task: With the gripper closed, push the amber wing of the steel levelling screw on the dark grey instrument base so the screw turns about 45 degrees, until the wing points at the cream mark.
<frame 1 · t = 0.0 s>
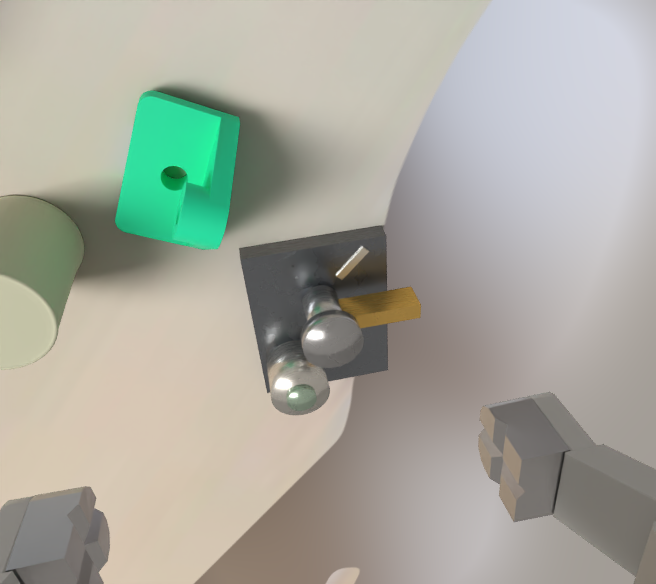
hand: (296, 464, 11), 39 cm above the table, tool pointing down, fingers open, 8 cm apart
instrument base: (318, 309, 59), on the table
camera mount: (175, 165, 47), on the table
can: (28, 241, 49), on the table
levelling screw: (358, 315, 53), point 6 cm above the table, hinge at 0.0°
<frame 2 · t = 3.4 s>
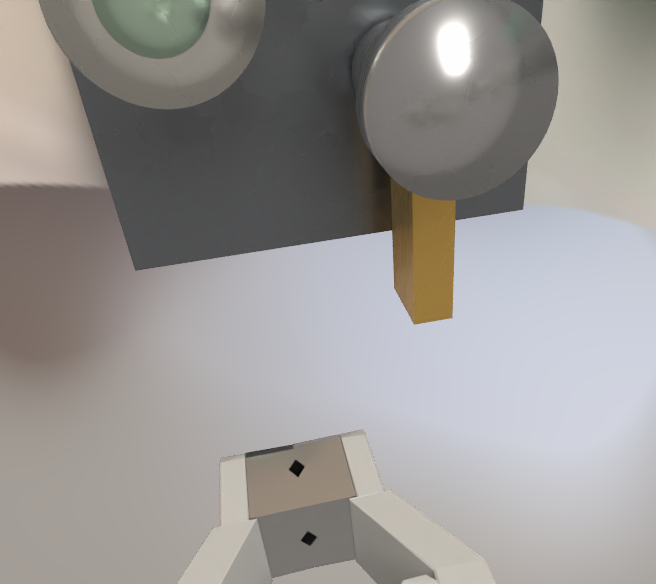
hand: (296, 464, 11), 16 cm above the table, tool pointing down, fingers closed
instrument base: (313, 69, 23), on the table
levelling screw: (425, 173, 20), point 6 cm above the table, hinge at 0.0°
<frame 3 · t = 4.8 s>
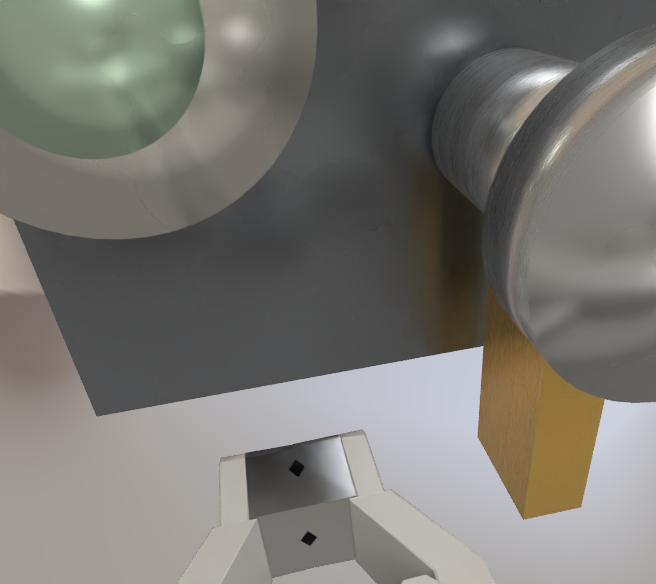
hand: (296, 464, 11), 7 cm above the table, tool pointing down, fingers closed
instrument base: (362, 121, 15), on the table
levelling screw: (560, 304, 12), point 6 cm above the table, hinge at 0.0°
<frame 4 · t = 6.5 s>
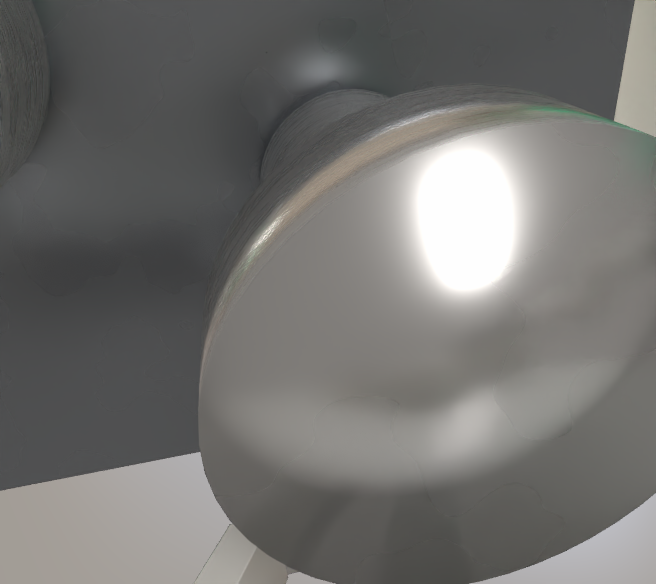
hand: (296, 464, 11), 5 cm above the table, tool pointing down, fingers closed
instrument base: (204, 167, 13), on the table
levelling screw: (400, 407, 10), point 6 cm above the table, hinge at 0.4°, touching gripper
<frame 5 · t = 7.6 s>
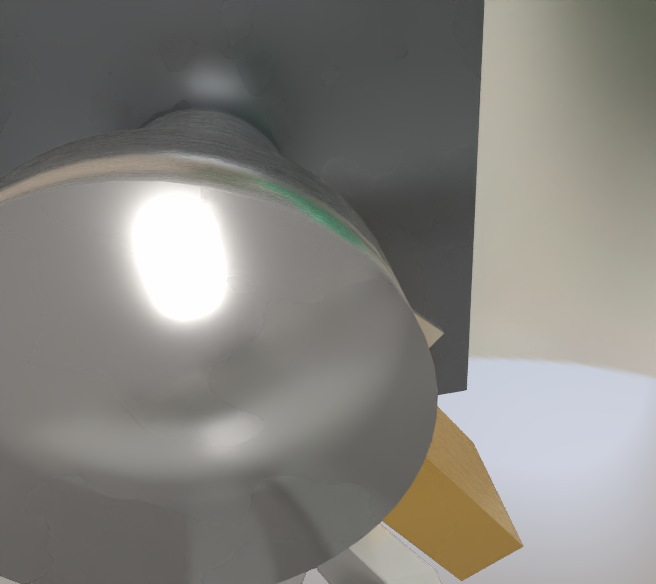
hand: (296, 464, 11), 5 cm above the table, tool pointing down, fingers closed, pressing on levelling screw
instrument base: (87, 179, 13), on the table
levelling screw: (318, 386, 10), point 6 cm above the table, hinge at 32.7°, touching gripper
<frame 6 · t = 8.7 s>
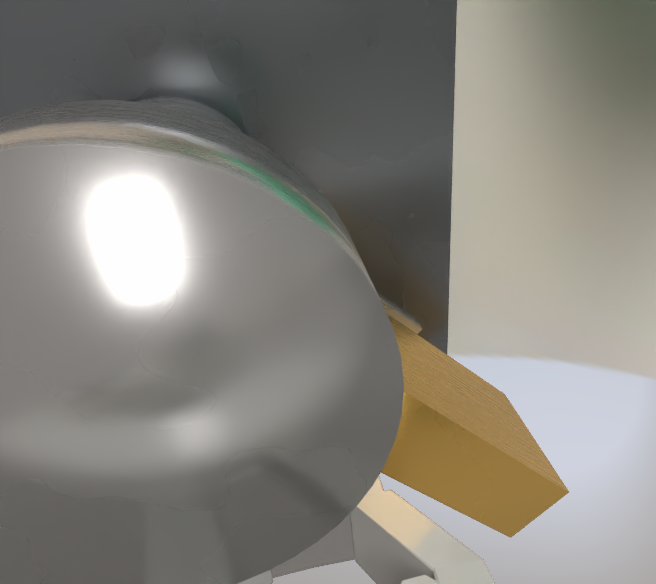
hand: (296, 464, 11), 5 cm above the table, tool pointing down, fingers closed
instrument base: (55, 173, 13), on the table
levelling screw: (315, 358, 10), point 6 cm above the table, hinge at 44.2°
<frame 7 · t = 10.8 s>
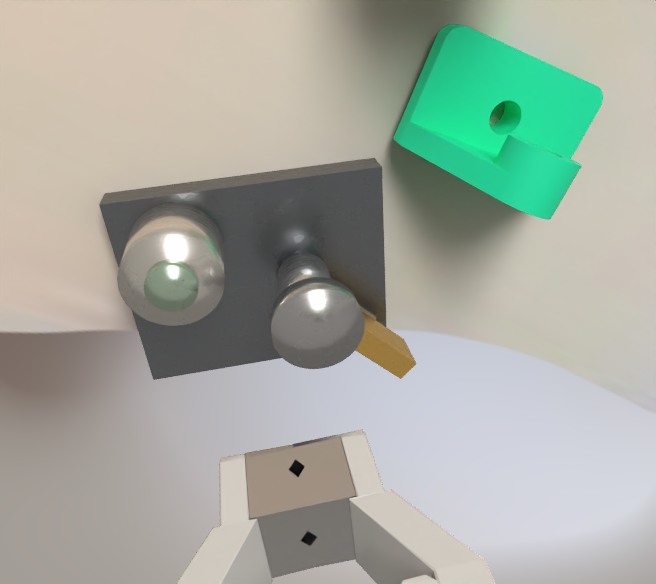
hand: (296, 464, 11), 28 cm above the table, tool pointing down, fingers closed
instrument base: (258, 267, 40), on the table
camera mount: (487, 108, 38), on the table
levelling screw: (344, 323, 37), point 6 cm above the table, hinge at 44.4°
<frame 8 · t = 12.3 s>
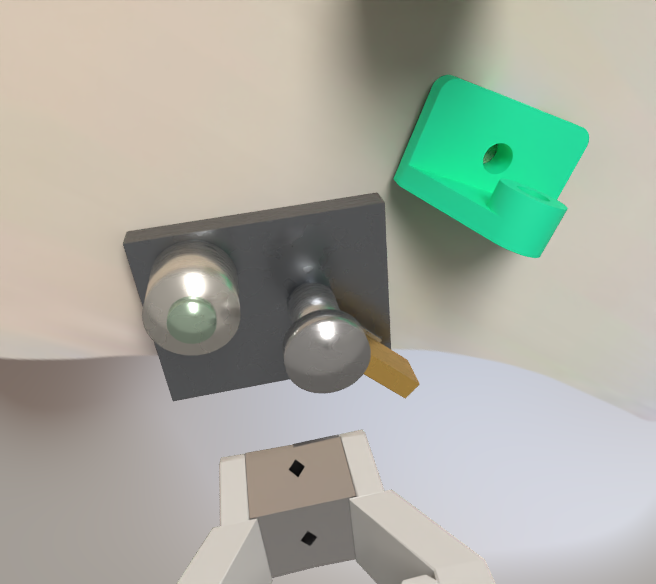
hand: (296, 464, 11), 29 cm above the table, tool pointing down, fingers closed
instrument base: (269, 294, 43), on the table
camera mount: (481, 147, 40), on the table
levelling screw: (352, 348, 40), point 6 cm above the table, hinge at 44.4°
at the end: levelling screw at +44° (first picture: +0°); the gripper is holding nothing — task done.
